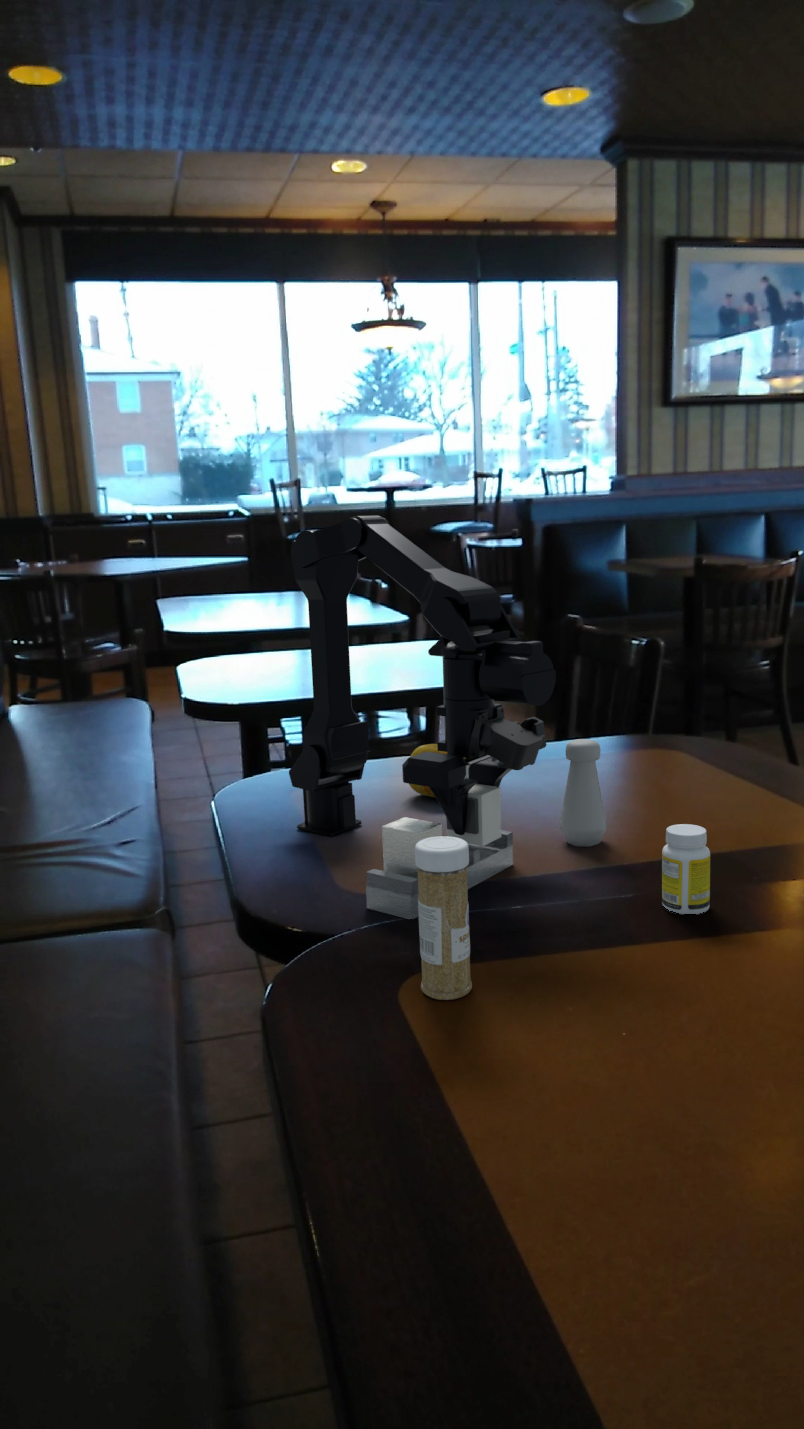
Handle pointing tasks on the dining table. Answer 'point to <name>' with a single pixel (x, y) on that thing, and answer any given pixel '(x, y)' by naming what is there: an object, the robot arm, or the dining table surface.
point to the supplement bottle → (686, 870)
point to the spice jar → (443, 916)
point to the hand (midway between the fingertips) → (471, 828)
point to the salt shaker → (583, 796)
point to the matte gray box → (481, 816)
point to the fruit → (421, 749)
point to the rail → (473, 878)
